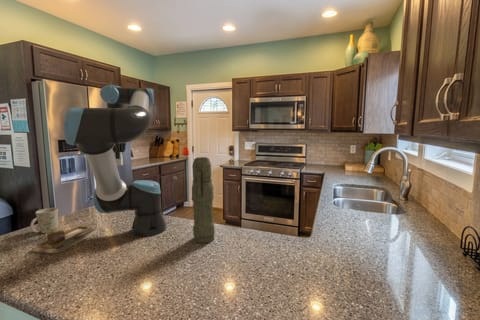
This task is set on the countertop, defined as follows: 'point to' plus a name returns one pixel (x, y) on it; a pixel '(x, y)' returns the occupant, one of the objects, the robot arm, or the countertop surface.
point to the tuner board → (66, 240)
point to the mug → (46, 220)
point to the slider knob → (56, 236)
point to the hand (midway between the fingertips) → (119, 164)
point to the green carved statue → (202, 201)
